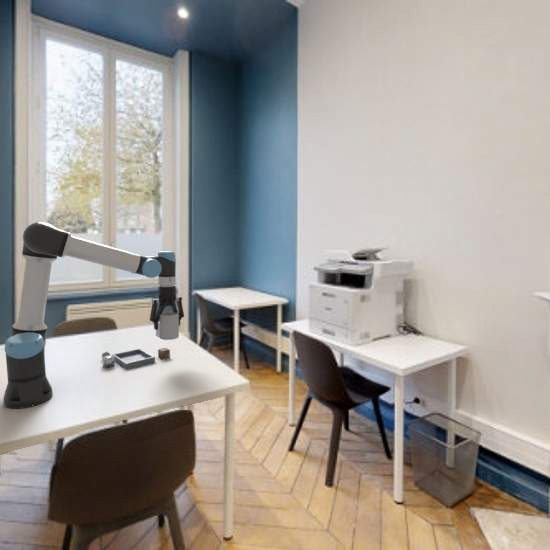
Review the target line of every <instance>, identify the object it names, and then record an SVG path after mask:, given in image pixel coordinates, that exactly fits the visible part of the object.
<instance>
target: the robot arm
mask: <svg viewBox="0 0 550 550" xmlns="http://www.w3.org/2000/svg"><path fill="white" fill-rule="evenodd" d="M22 241H23V244H22V245H23V246H22V253H21V255H22V257H23V259H25V264H24V265H25V266H24V273H23V281H22V288H21V295H20V303H19V310H18V316H17V317H18V319H17V321H16V322H15V323H14V324H12V327H11V335H10V337H8V338H7V339H6V340H5V343H4V352H5V361H6V375H7V384H6V388H5V390H4V394H3V398H2V401H3V406H4V405H5V406H6V407H5V406H4V407H5V408H8V407H9V409H22V408H21V407H26V408H28V407H27V406H31V407H33V406H32V405H35V406H37V405H36V404H38V405H40V404H39V403H41V404H43V403H45V402H47V401H49V400H50V399H51V398H52V397H53V387H52V385H51V384H50V383H51V382H50V381H49V379H48V377H47V373H46V358H45V357H46V355H45V352H46V351H45V349H46V348H45V347H46V343H47V332H48V325H47V324H45V314H46V307H47V300H48V292H49V286H50V279H51V270H52V263H53V262H55V261H56V260H57V259H58V257H59V258H64V257H70V258H74V259H77V260H82V261H86V262H88V263H89V262H90V263H93V264H97V265H102V266H106V267H110V268H113V269H117V270H120V271H125V272H129V273H131V274H137V275H139V276H140V275H141V276H143V277H146V278H149V279H151V278H152V279H155V278H156V277H157V278H158V280H157V282H158V287H157V288H158V297H157V298H152V299H151V310H150V315H149V321H150V322H152V323H153V329H154V330H155V336H156V337H158V338H159V337H160V322H159V319H160V315H161V314H162V313H163V312H164V309H165V308H166V307H170V309H171V311H172V312H175V313H176V312H177V313H178V314H179V327H180V326H181V320H182V318H184V317H185V314H184V308H183V303H182V302H183V297H182V296H179V295H178V296H176V293H177V292H176V291H177V290H176V289H177V287H176V284H177V283H176V280H177V279H176V275H177V274H176V272H177V271H176V266H177V265H176V263H177V261H176V253H175V252H174V251H170V250H168V251H167V250H166V251H165V250H164V251H162V250H160V251H158V252H157V255H150V256H149V255H140V254H137V253H135V252H130V251H126V250H123V249H119V248H116V247H112V246H108V245H105V244H101V243H98V242H95V241H91V240H87V239H84V238H80V237H78V236H74V235H72V233H71V232H69V231H65V230H62V229H60V228H58V227H56V226H55V225H53V223H52V224H51V223H50V222H45V221H36V222H33V223H31V224H29V225H28V226H27V227H25V229H24V231H23V235H22ZM175 302H176V304H175ZM176 305H177V306H176ZM157 307H158V308H157ZM48 399H49V400H48ZM46 400H47V401H46ZM42 402H43V403H42Z"/></svg>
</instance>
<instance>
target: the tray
mask: <svg viewBox="0 0 550 550" xmlns="http://www.w3.org/2000/svg"><path fill="white" fill-rule="evenodd" d="M111 355H112V356H114V361H115V362H116V363H117V364H118V365H120V366H121V367H122V368H124V369H125V370H128V369H132V368H135V367H140V366H144V365H148V364H153V363H156V357H155V356H154V355H152V354H150V353H149V352H147V351H146V350H143V349H142V348H137V349H132V350H126V351H122V352H117V353H112V354H111Z"/></svg>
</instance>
